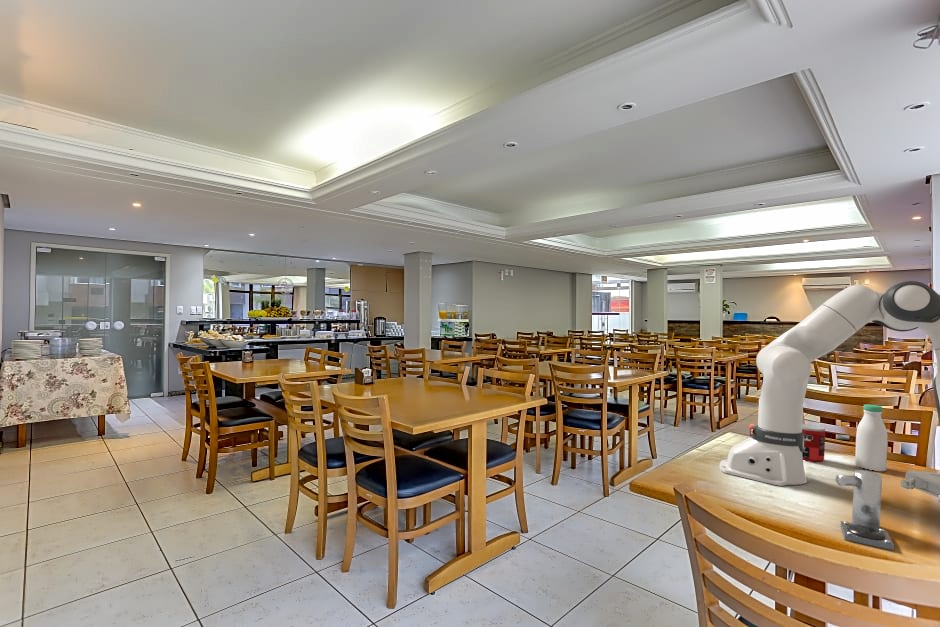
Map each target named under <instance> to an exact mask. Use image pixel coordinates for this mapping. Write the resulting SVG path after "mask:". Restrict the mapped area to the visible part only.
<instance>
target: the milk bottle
mask: <svg viewBox="0 0 940 627" xmlns="http://www.w3.org/2000/svg"><path fill="white" fill-rule="evenodd" d="M882 414H883V406H880V405H877V404H866V403H865V404H863V416H862V418H861V420H860V421H859V423H858V425H857V427H856V435H855V436H856V437H855V454H854V455H855V460H854V464H855V466H856V467H858V468H860V467H862V468H861V469H863V468H865V469H864V470H867V469H869V470H868V471H872V470H874V471H873V472H885V471H886V470H887V467H888V443H889V442H888V437H889V436H888V430H887V428H886V425H885V423H884V421H883V419H882Z"/></svg>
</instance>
